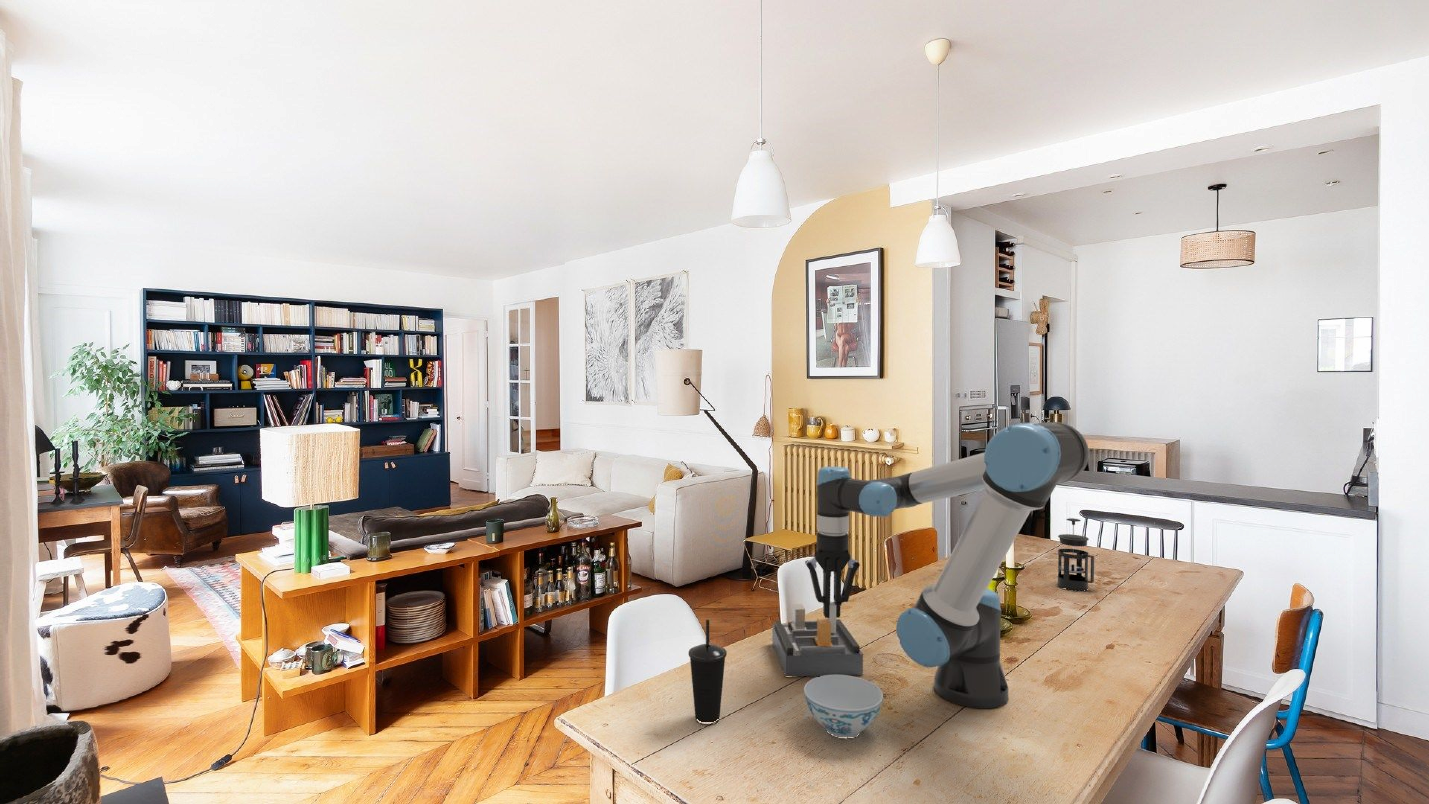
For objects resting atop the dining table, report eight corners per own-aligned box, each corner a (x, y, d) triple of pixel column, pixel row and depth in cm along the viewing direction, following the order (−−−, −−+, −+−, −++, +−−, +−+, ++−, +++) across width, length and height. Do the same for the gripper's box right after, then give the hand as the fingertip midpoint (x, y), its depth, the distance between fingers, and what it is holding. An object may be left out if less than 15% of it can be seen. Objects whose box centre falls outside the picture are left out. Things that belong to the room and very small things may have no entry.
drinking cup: (693, 731, 128) (693, 628, 128) (684, 712, 136) (684, 615, 135) (731, 726, 130) (731, 625, 130) (720, 707, 138) (720, 612, 137)
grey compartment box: (862, 675, 154) (863, 627, 153) (785, 677, 152) (785, 629, 152) (840, 642, 174) (840, 600, 173) (772, 643, 172) (772, 601, 172)
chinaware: (788, 730, 129) (788, 690, 129) (833, 704, 140) (833, 668, 139) (853, 761, 118) (854, 718, 118) (897, 730, 129) (898, 691, 129)
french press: (1049, 585, 223) (1050, 517, 223) (1063, 581, 229) (1064, 514, 228) (1085, 594, 214) (1086, 523, 213) (1099, 589, 219) (1100, 520, 219)
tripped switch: (832, 648, 156) (833, 624, 156) (819, 649, 155) (819, 624, 155) (828, 641, 160) (828, 617, 160) (815, 641, 160) (815, 617, 160)
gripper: (855, 528, 162) (854, 624, 162) (802, 529, 161) (801, 625, 162) (864, 535, 154) (862, 636, 155) (808, 536, 154) (807, 637, 154)
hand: (831, 630), depth 158 cm, fingers closed
